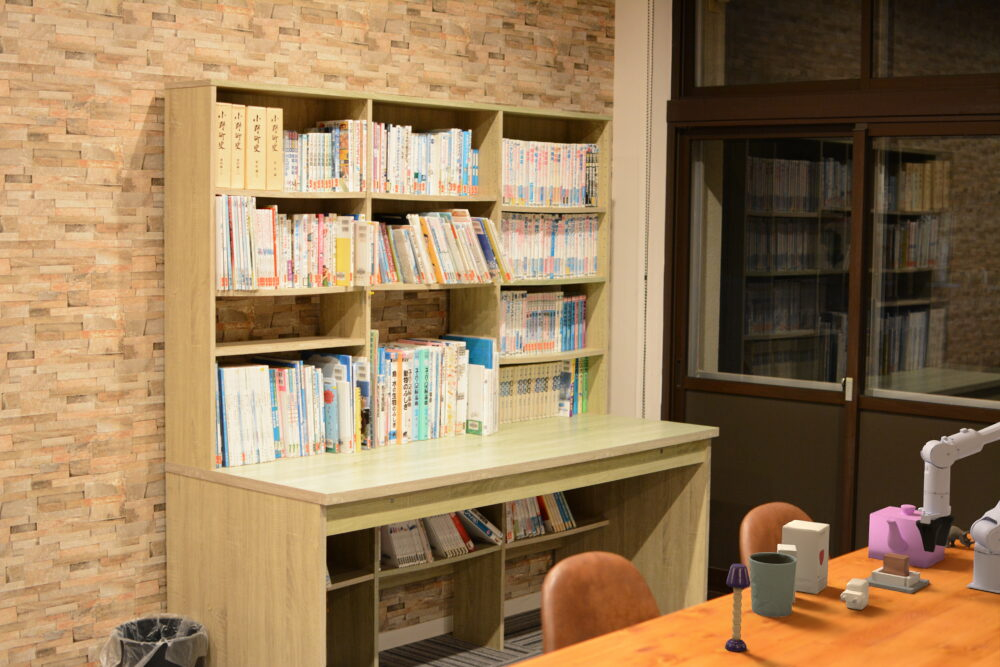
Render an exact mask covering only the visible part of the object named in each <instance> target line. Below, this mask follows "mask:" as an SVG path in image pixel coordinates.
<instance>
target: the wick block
mask: <svg viewBox="0 0 1000 667" xmlns="http://www.w3.org/2000/svg"><path fill="white" fill-rule="evenodd" d="M882 561H883V563H882V566H883V573H886V574H892V575H897V576H902V577H907V576H909V571H910V565H909V561H910V556H905V555H899V554H894V553H888V554H885V555H884V557H883V560H882Z"/></svg>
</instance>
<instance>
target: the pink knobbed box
mask: <svg viewBox="0 0 1000 667" xmlns="http://www.w3.org/2000/svg"><path fill="white" fill-rule="evenodd" d="M916 508H917V507H916V506H915V505H912V504H902V505H901V506H900V507H897V506H887V507H885V508H882V509H879V510H876V511H874V512H871V513H870V514H869V527H868V528H869V529H868V530H869V531H868V553H867V554H868V556H867V557H868V559H872V560H878V561H883V557H884V555H885V554H888V553H894V554H899V555H905V556H910V561H909V566H911V567H917V568H923V569H928V568H930V567H932V566H934V565H935V564H938V563H939V562H941V561H943V560H945V557H946V556H945V554H946V553H945V552H946V551H945V550H946V548H945V546H938V545H936V546H935V550H934V552H926V551H924V547H923V543H922V538H921V535H920V532H919V530H918V528H917V526H916V521H917V520H921V514H922V512H920V511H918V509H916Z"/></svg>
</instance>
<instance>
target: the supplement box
mask: <svg viewBox="0 0 1000 667" xmlns="http://www.w3.org/2000/svg"><path fill="white" fill-rule="evenodd" d="M781 533H782V535H781V544H785V545H795V546H796V549H797V563H796V586H795V592H801V593H807V594H813V595H817V594H818V593H820V592H822V591H823V590H825V588H826V587H827V586H828V572H829V552H830V550H829V546H830V545H829V544H830V524H828V523H822V522H814V521H808V520H807V521H806V520H800V519H799V520H798V519H794V520H792V521H790V522H787V523H786V524H785V525H783V526H782V532H781Z"/></svg>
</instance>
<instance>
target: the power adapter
mask: <svg viewBox="0 0 1000 667" xmlns="http://www.w3.org/2000/svg"><path fill="white" fill-rule="evenodd" d="M864 579H865V578H864ZM864 579H862V578H855V577H853V578H851V579H850V580H849V581H848V582H847V584H846V587H845V588H846V589H845V590H844V591H842V592H841V594H840V601H841V602H844V601H845V605H846V608H848V609H853V610H859V611H862V610H863V609H865V608H866V606H868V603H869V593H870V592H869V590H870V588H869V587H870V586H869V582H868V581H867V580H864Z"/></svg>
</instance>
